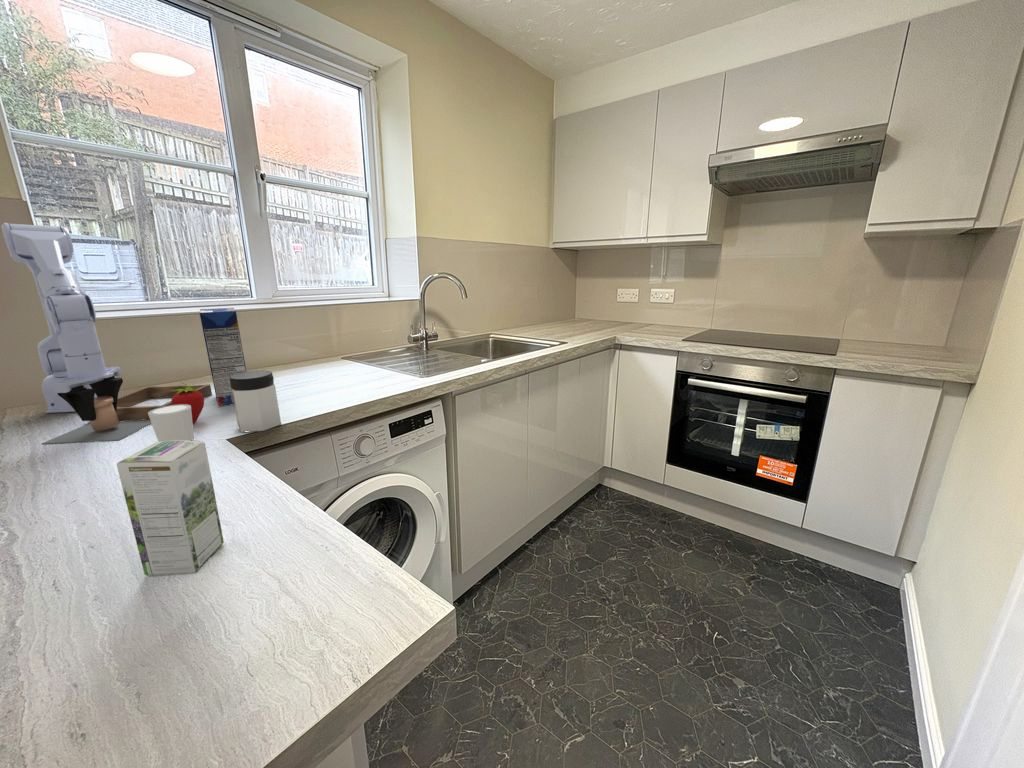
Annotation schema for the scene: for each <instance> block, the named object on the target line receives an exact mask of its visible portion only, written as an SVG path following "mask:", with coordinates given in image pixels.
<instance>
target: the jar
mask: <svg viewBox="0 0 1024 768" xmlns="http://www.w3.org/2000/svg"><path fill="white" fill-rule="evenodd" d="M274 379H275V378H274V375H273V372H272V371H270V370H266V369H265V370H264V369H263V370H262V369H261V370H260V369H257V370H248V371H247V370H246V372H240V373H236V374H233V375H231V376H230V377H229V380H230V385H231V391H232V396H233V402H234V404H233V406H234V412H235V416H236V422H237V427H238V429H239V431H240V432H241V433H246V432H245V431H257V432H265V431H268V430H270V429H273V428H275V427H278V426H280V425H282V421H281V414H280V407H279V402H278V395H277V389H276V384H275V382H274V381H275V380H274ZM257 432H256V433H257Z"/></svg>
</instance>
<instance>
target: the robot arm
mask: <svg viewBox="0 0 1024 768" xmlns="http://www.w3.org/2000/svg"><path fill="white" fill-rule="evenodd" d="M0 227H1V231H2V236H3V238H4V242H5V244H6V247H7V250H8V253H9V256H10V258H12V260H13V262H14V263H15V262H16V263H20V264H24V265H26V266H27V268H28V269H29V271H30V272H31V274H32V277H33V280H34V283H35V285H36V286H35V287H36V290H37V292H38V297H39V300H40V303H41V307H42V310H43V313H44V318H45V320H46V323H47V327H48V330H49V335H48V336H46V337H45V338H43V340H41V341H39V342H38V343H37V346H36V348H37V351H38V357H39V360H40V361H39V362H40V364H41V367H42V370H43V372H44V374H46V375H47V376H46V377H45V378H43V379H42V382H41V390H42V393H43V396H44V400H45V403H46V407H47V409H48V410H45V413H46V414H49V413H50V414H51V413H55V414H56V413H76V414H77V416H78V417H79V419H80V420H81V421H82V422H89V421H94V420H96V412H95V407H94V398H95V397H101V396H111V397H113V400H114V402H113V403H112V404H113V407H114V409H115V411H116V410H117V399H118V397H119V392H120V389H121V386H122V384H123V382H124V380H123V378H122V377H120V376H122V370H121V366H110V367H106V362H105V360H104V355H103V351H102V347H101V345H100V340H99V336H98V332H97V328H96V325H95V323H94V322H96V320H97V319H96V318H97V314H96V309H95V305H94V302H93V301H92V299H91V297H90V296H89V294H88V293H87V292H86V291H85V290H84V291H83V289H82V286H81V284H80V282H79V279H78V278H77V275H76V274H74V272H72V271H70V270H69V269H66V266H65V264H68V263H71V261H72V259H73V254H74V245H73V240H72V237H71V234H70V232H69V230H68V228H67V227H65V226H64V225H59V226H57V225H39V224H38V225H37V224H23V223H22V224H20V223H19V224H18V223H9V222H3V223H2V224H1V225H0Z"/></svg>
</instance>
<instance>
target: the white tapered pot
mask: <svg viewBox="0 0 1024 768" xmlns="http://www.w3.org/2000/svg"><path fill="white" fill-rule="evenodd" d="M148 415H149V418H150V419H149V420H150V421H151V423H152V424H151V425H152V429H153V431H154V433H155V436H156V440H157V442H161V441H172V440H188V441H191V440H192V439H193V440H195V435H194V433H195V432H194V423H193V422H192V412H191V405H186V404H179V405H170V406H164V407H160V408H157V409H154V410H151V411H149V412H148ZM193 440H192V441H193Z"/></svg>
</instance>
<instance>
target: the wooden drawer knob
mask: <svg viewBox="0 0 1024 768" xmlns="http://www.w3.org/2000/svg"><path fill="white" fill-rule="evenodd" d="M113 402H114V400H113V397H111V396H101V397H95V398H94V407H95V412H96V420H94V421H88V422H89V423H90V424H91V426H92V429H93V430H95V431H100V430H106V429H110V428H113V427H115V426H117V425H119V424H120V422H119V419H118V417H117V414H116V412H115V409H114V407H113V404H112V403H113Z"/></svg>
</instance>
